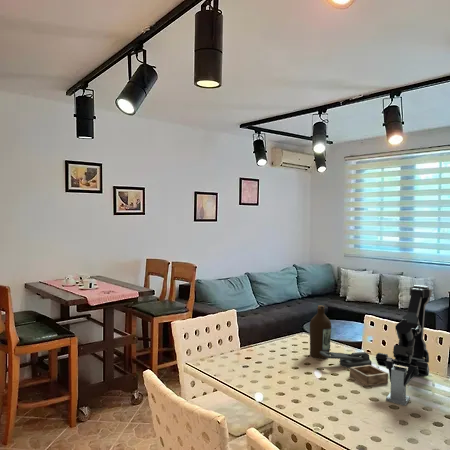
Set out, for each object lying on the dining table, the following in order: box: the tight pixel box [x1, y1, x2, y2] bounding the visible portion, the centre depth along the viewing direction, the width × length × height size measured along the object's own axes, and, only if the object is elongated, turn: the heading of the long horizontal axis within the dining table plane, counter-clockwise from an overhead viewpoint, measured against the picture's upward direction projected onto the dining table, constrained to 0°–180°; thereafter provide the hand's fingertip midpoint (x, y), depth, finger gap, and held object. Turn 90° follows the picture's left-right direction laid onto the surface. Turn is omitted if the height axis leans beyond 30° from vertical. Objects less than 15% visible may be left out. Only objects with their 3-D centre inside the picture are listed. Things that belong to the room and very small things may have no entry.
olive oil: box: [309, 304, 332, 360], centre depth 210 cm, size 11×11×25 cm
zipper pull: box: [320, 351, 373, 369], centre depth 197 cm, size 9×7×25 cm
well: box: [349, 364, 389, 386], centre depth 180 cm, size 11×11×4 cm
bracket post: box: [385, 365, 411, 406], centre depth 160 cm, size 7×7×12 cm
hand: (397, 383), depth 159 cm, fingers closed on bracket post, 4 cm apart
